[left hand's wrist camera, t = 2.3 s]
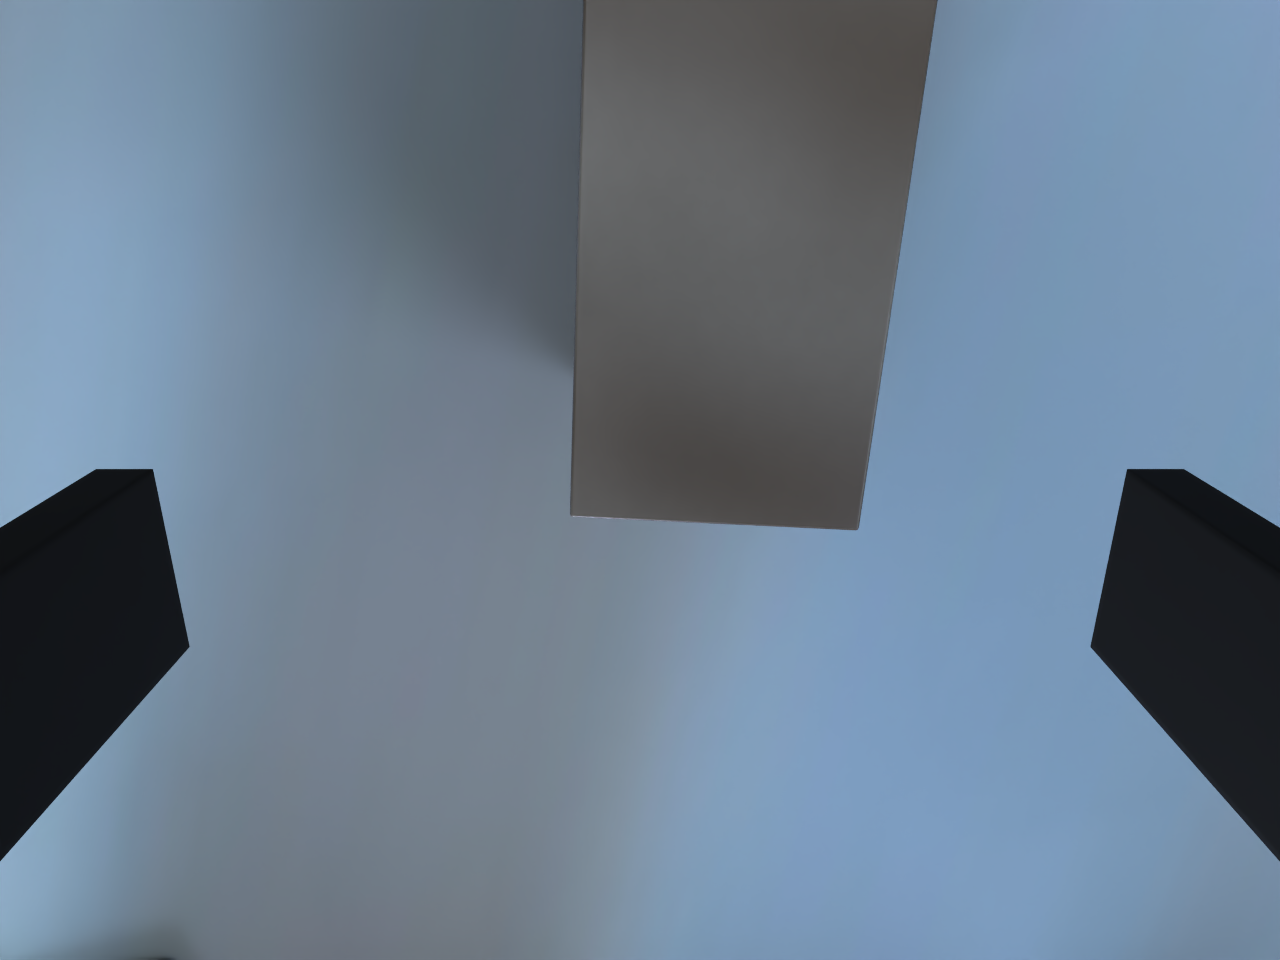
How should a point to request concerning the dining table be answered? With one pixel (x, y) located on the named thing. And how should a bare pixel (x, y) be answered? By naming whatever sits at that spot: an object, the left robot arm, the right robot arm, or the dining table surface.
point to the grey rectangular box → (738, 252)
